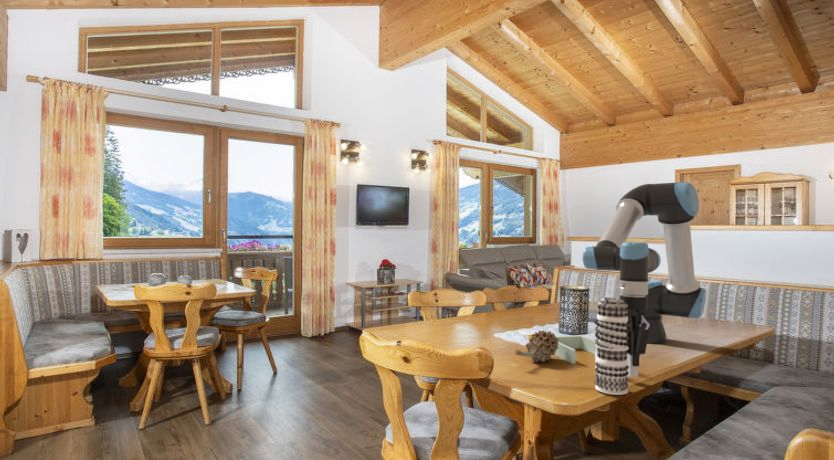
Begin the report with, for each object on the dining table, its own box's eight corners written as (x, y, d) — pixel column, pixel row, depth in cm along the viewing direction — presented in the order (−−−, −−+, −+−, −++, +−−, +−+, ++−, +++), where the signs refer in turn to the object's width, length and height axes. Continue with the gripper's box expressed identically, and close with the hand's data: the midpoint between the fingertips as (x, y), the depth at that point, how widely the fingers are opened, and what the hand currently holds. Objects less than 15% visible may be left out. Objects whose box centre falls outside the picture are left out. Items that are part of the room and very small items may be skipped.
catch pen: (581, 347, 181) (582, 335, 181) (613, 361, 162) (613, 347, 162) (544, 349, 177) (544, 337, 177) (572, 363, 159) (572, 349, 159)
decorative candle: (593, 392, 130) (594, 299, 130) (593, 382, 139) (594, 295, 139) (630, 397, 127) (631, 302, 127) (628, 386, 136) (629, 297, 136)
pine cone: (538, 354, 170) (539, 325, 170) (564, 359, 164) (565, 329, 164) (505, 367, 154) (506, 335, 154) (533, 373, 148) (533, 340, 148)
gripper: (608, 292, 146) (607, 370, 146) (637, 298, 134) (636, 384, 134) (630, 292, 148) (629, 369, 148) (660, 298, 135) (659, 382, 135)
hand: (632, 376), depth 141 cm, fingers closed
